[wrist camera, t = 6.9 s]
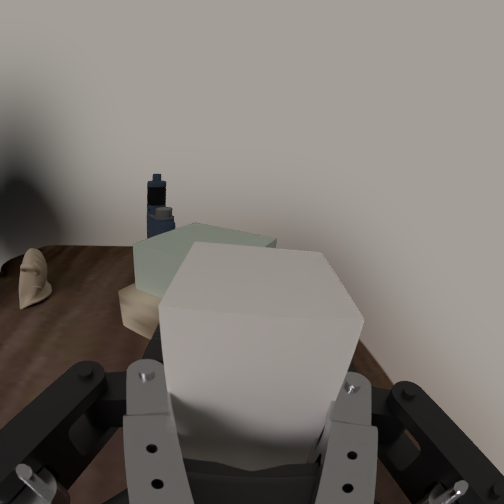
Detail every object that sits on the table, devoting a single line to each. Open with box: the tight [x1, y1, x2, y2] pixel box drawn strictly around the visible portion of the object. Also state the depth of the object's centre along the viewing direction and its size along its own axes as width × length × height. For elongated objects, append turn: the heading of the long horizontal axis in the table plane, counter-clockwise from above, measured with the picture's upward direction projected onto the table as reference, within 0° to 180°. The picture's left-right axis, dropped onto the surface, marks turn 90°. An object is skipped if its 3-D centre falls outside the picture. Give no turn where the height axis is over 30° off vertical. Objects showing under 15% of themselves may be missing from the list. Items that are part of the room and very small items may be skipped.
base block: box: [118, 283, 162, 340], centre depth 26 cm, size 11×11×4 cm
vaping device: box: [147, 174, 175, 239], centre depth 34 cm, size 3×5×12 cm, turn 38°
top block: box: [133, 223, 277, 299], centre depth 25 cm, size 9×9×4 cm
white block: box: [158, 241, 365, 471], centre depth 10 cm, size 5×5×10 cm
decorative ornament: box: [19, 248, 52, 310], centre depth 25 cm, size 4×8×5 cm, turn 34°
